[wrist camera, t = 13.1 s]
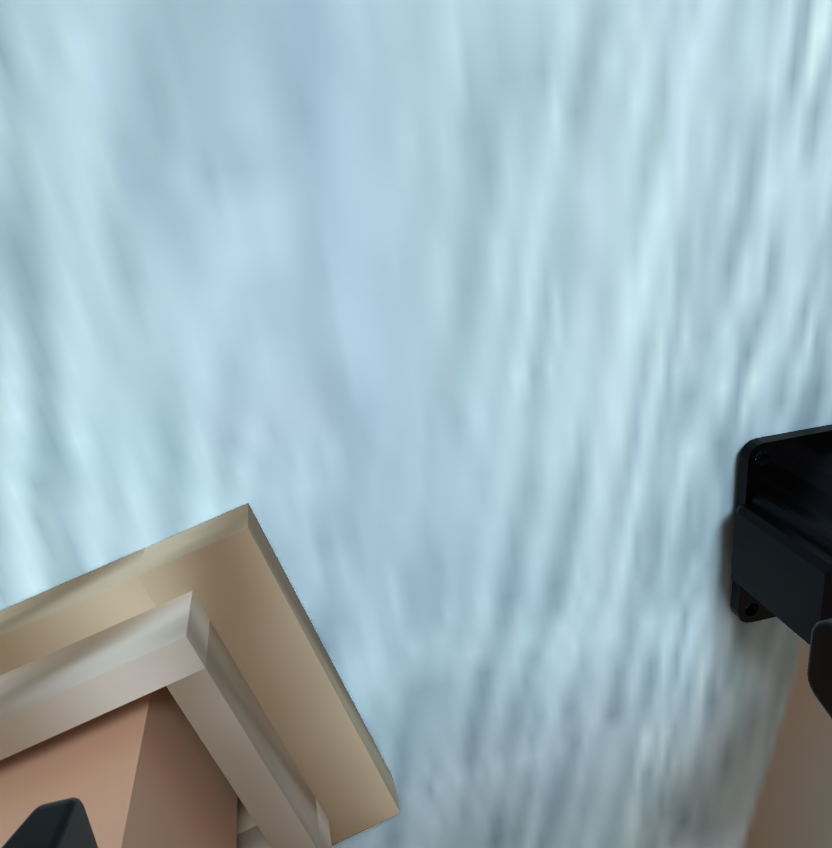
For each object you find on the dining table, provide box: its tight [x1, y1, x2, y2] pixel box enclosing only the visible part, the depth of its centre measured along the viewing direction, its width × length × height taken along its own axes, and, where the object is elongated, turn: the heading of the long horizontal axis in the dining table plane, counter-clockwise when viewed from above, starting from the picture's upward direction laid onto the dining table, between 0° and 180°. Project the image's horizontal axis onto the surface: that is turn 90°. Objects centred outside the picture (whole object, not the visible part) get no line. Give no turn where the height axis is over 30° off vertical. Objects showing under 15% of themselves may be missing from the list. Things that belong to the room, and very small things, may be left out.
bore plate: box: [0, 503, 400, 848], centre depth 20 cm, size 13×11×4 cm
